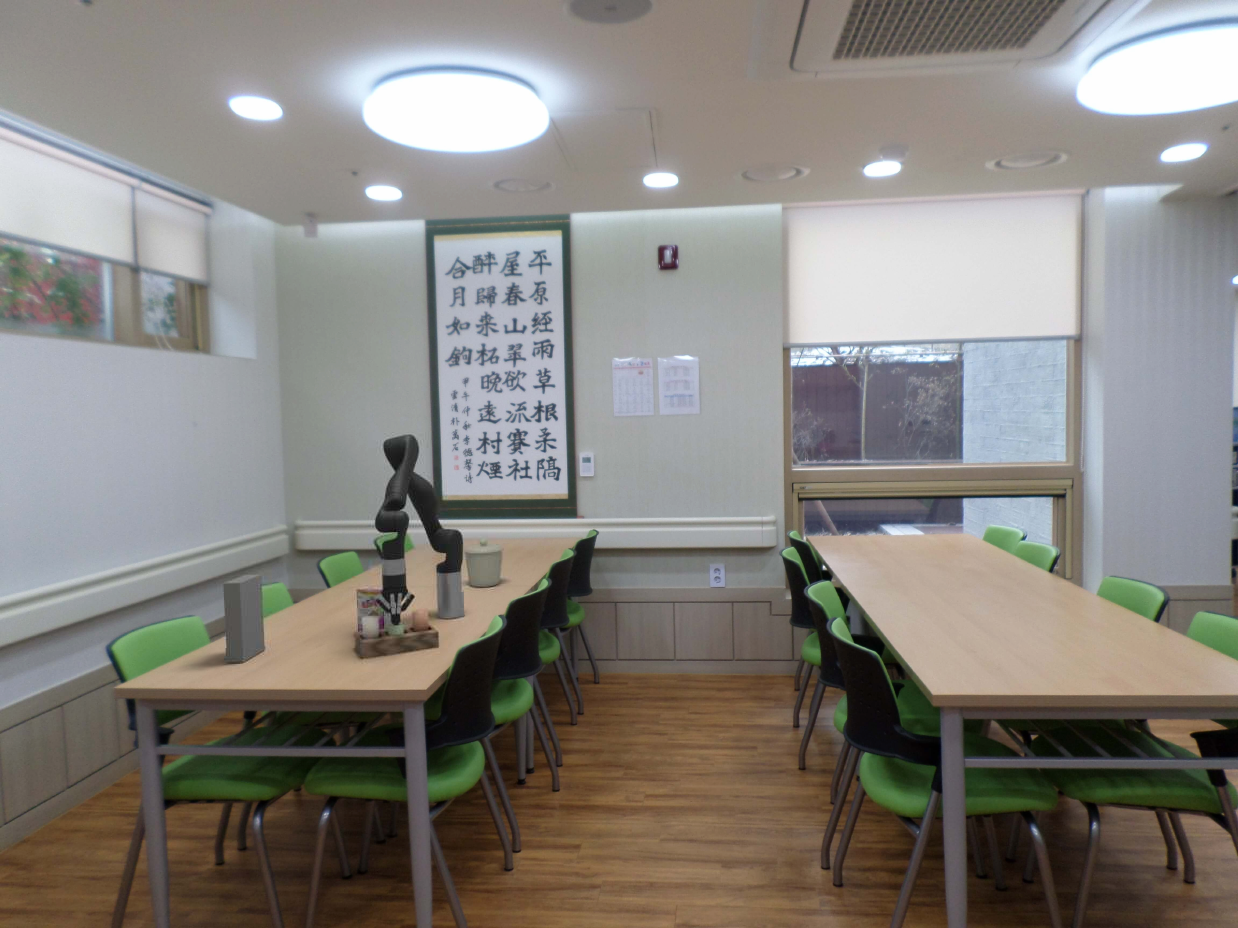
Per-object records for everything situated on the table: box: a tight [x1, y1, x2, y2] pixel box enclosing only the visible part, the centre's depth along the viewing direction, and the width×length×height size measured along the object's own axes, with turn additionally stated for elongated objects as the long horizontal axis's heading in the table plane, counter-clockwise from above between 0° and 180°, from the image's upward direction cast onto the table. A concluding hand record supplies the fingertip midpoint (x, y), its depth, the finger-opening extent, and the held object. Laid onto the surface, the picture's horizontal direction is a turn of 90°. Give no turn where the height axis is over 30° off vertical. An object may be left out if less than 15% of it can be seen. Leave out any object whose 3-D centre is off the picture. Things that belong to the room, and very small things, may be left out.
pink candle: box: [412, 608, 429, 632], centre depth 257 cm, size 5×5×7 cm
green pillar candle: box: [388, 622, 405, 636], centre depth 253 cm, size 5×5×7 cm
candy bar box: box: [356, 586, 392, 632], centre depth 269 cm, size 11×5×16 cm, turn 71°
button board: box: [353, 623, 440, 659], centre depth 253 cm, size 24×14×5 cm, turn 118°
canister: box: [463, 538, 505, 588], centre depth 351 cm, size 18×18×21 cm
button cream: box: [362, 616, 379, 640], centre depth 249 cm, size 5×5×7 cm
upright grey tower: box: [223, 574, 266, 664], centre depth 246 cm, size 14×6×25 cm, turn 178°
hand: (395, 624), depth 253 cm, fingers closed
